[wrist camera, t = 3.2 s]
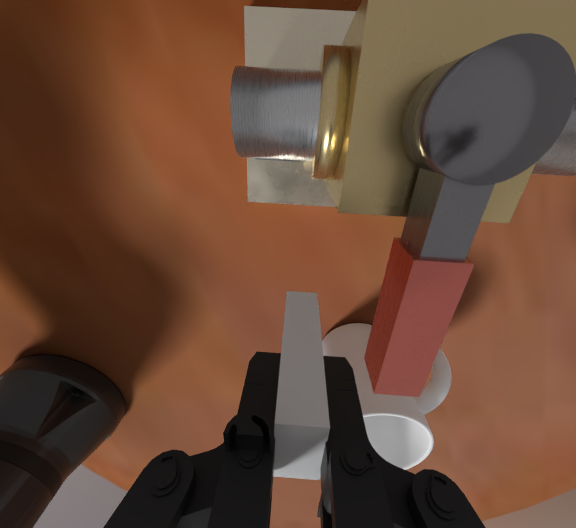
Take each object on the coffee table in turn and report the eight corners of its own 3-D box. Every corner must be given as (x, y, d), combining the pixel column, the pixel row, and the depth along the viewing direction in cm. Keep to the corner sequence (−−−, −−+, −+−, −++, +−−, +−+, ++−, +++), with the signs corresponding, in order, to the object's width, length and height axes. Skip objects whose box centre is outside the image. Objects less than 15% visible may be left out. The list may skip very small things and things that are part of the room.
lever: (417, 55, 9) (456, 29, 7) (528, 61, 9) (607, 36, 7) (351, 356, 16) (359, 395, 14) (415, 361, 16) (435, 401, 14)
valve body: (250, 198, 22) (216, 243, 13) (247, 12, 17) (186, -120, 8) (486, 213, 22) (613, 268, 13) (561, 27, 17) (865, -93, 8)
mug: (401, 289, 26) (457, 376, 17) (437, 341, 28) (501, 441, 19) (303, 342, 29) (304, 438, 20) (342, 383, 32) (359, 484, 23)
